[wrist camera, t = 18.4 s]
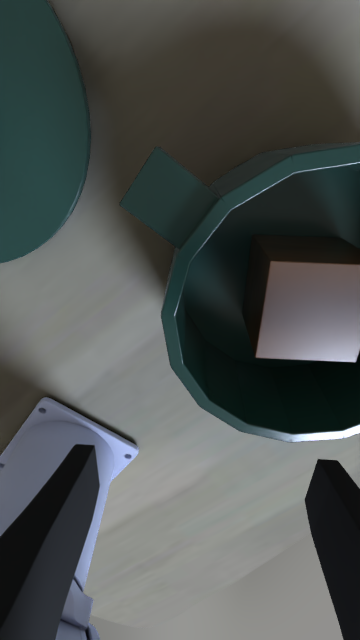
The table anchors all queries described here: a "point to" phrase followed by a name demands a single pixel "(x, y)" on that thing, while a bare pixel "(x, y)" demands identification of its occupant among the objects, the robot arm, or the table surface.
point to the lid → (38, 127)
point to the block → (303, 298)
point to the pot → (230, 281)
